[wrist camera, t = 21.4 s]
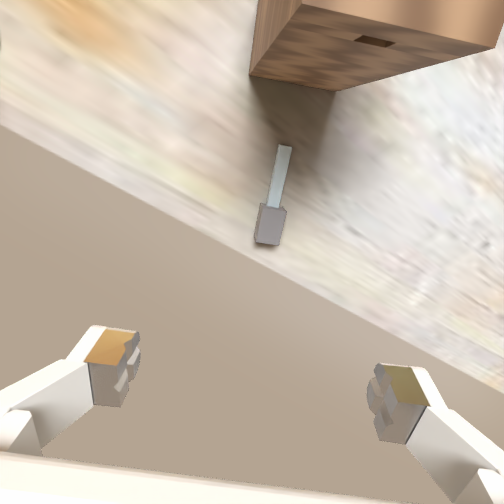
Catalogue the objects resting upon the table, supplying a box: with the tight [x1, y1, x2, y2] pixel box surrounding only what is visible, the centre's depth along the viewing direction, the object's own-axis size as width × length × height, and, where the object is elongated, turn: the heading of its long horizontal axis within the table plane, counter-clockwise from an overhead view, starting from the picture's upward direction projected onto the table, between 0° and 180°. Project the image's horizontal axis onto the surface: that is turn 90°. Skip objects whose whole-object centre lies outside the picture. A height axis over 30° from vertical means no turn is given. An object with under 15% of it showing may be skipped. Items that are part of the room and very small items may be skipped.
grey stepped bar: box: [254, 145, 292, 245], centre depth 55 cm, size 16×4×4 cm, turn 169°
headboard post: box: [249, 0, 504, 92], centre depth 34 cm, size 14×10×31 cm
